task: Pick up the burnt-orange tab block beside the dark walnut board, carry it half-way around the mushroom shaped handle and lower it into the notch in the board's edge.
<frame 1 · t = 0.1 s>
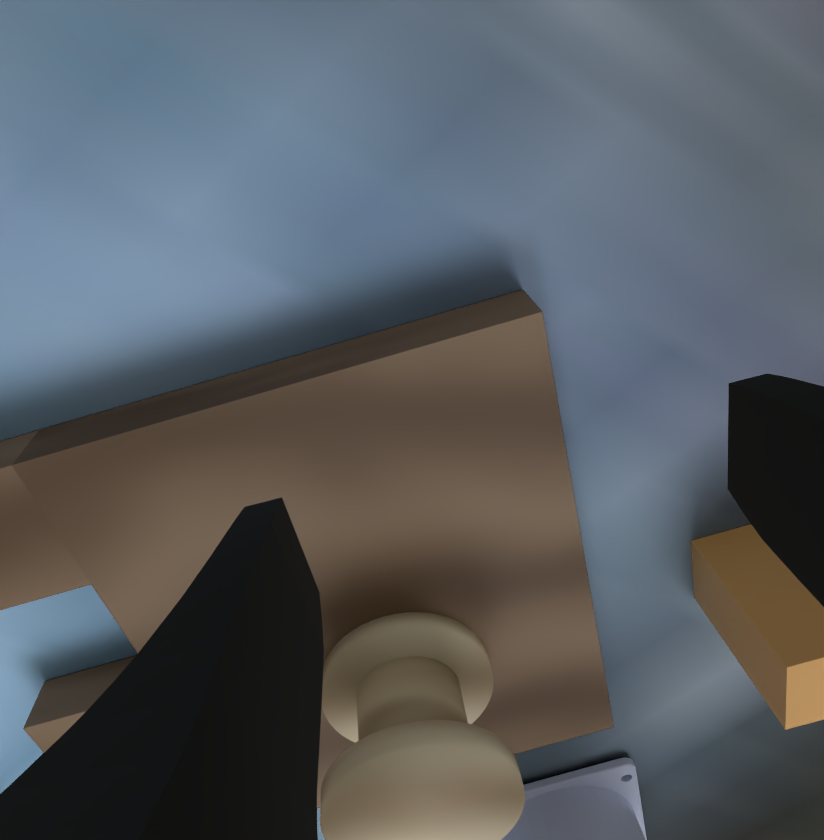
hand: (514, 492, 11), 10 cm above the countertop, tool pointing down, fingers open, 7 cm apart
tab block: (730, 559, 26), on the countertop
notched board: (299, 598, 24), on the countertop
mushroom shaped handle: (400, 633, 26), resting on notched board
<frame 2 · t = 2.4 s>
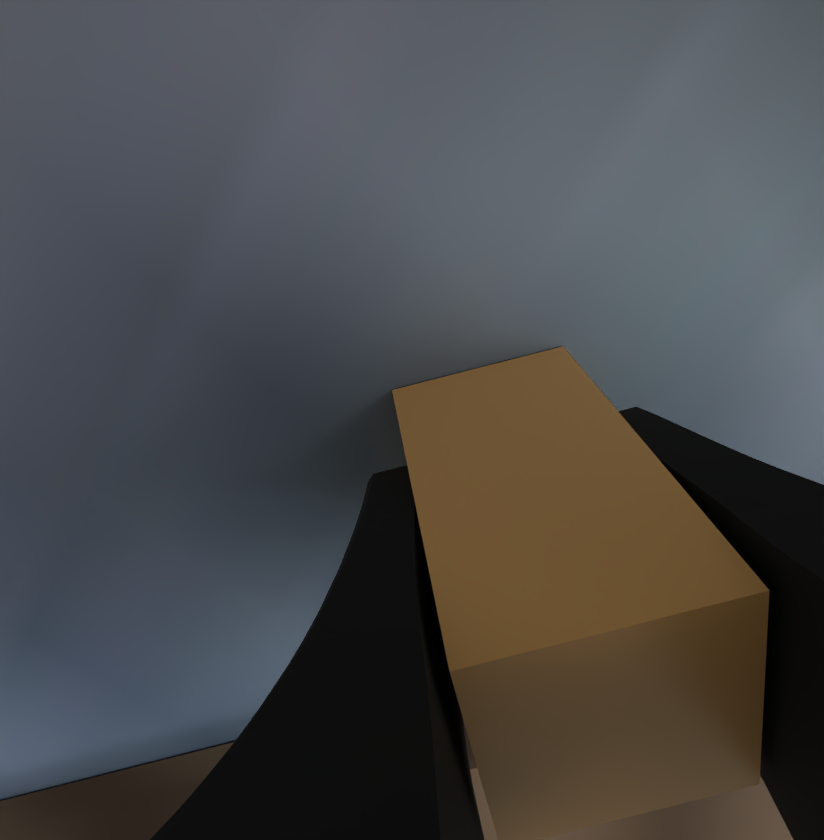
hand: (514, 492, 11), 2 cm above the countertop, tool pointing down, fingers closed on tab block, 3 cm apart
tab block: (491, 441, 12), on the countertop, touching gripper
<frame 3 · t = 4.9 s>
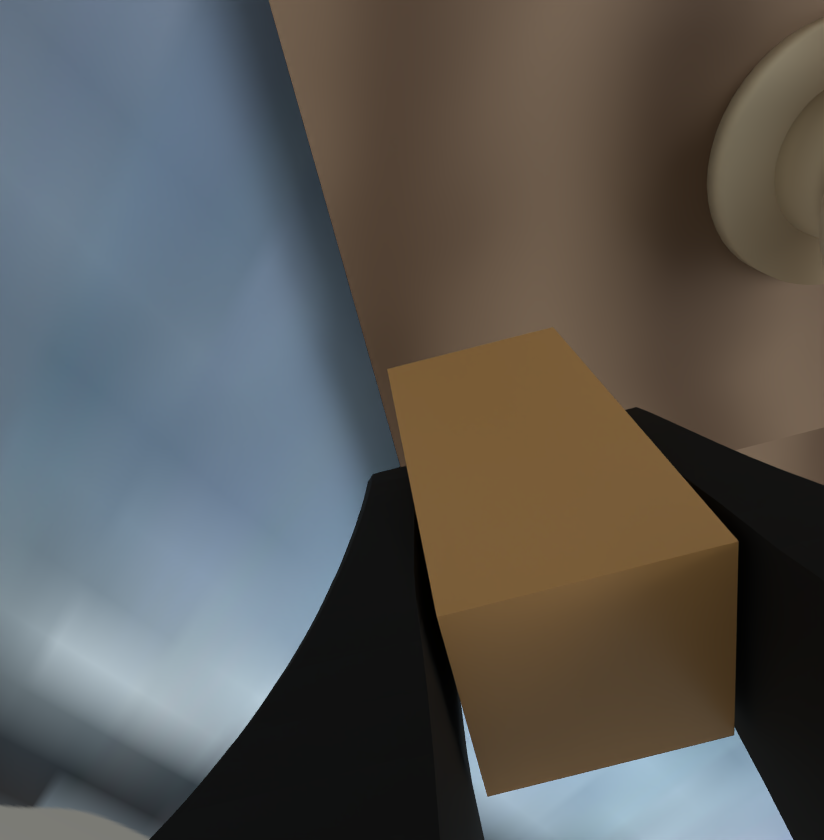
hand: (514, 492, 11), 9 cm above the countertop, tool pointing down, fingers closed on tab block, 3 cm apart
tab block: (484, 420, 12), point 7 cm above the countertop, touching gripper
notched board: (673, 279, 19), on the countertop
mushroom shaped handle: (778, 145, 18), resting on notched board
when the fingers open (3 cm above the countertop, at t = 7.8 s): tab block stays where it is, on the countertop.
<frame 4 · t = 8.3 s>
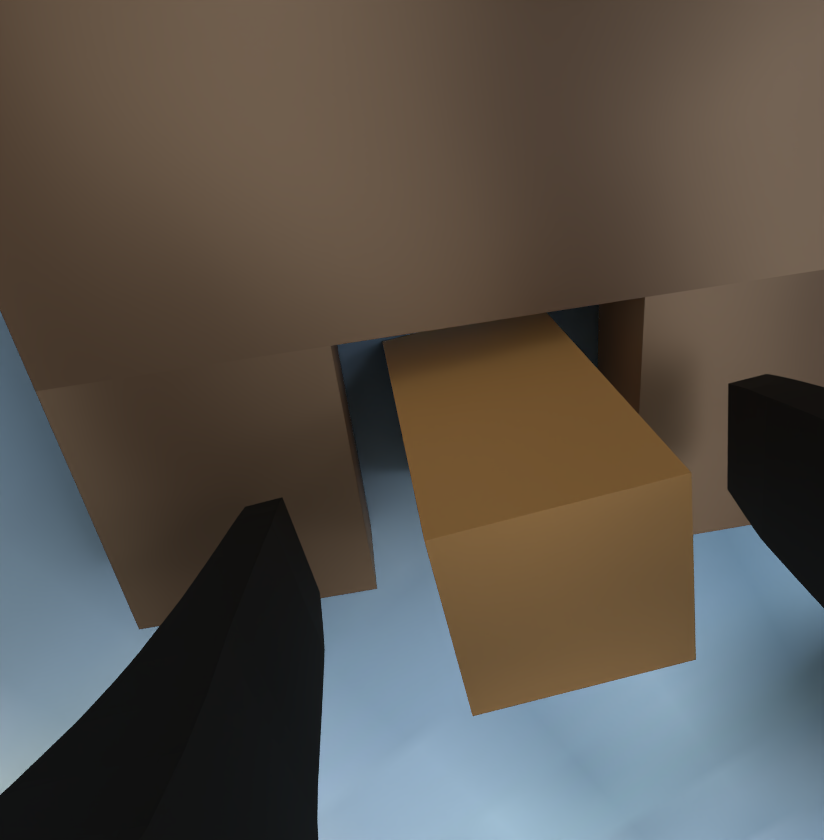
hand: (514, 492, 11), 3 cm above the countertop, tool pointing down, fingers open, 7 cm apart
tab block: (473, 391, 13), on the countertop
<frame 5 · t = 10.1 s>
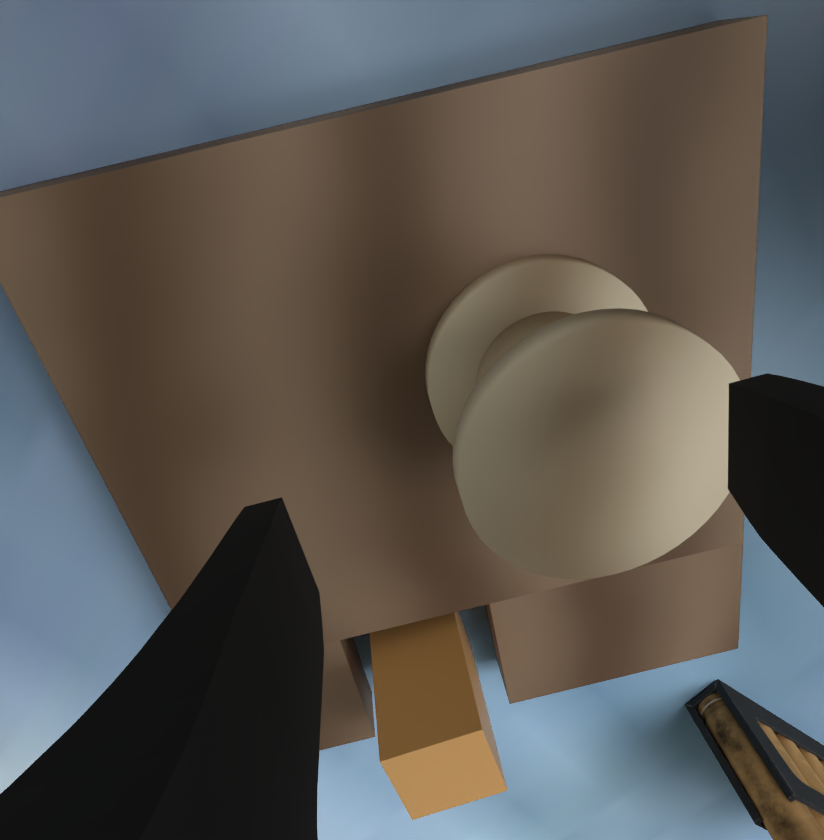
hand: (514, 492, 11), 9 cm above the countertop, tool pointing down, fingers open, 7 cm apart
tab block: (419, 624, 25), on the countertop
notched board: (436, 448, 21), on the countertop
ammunition clip: (768, 730, 30), on the countertop
mushroom shaped handle: (517, 339, 20), resting on notched board
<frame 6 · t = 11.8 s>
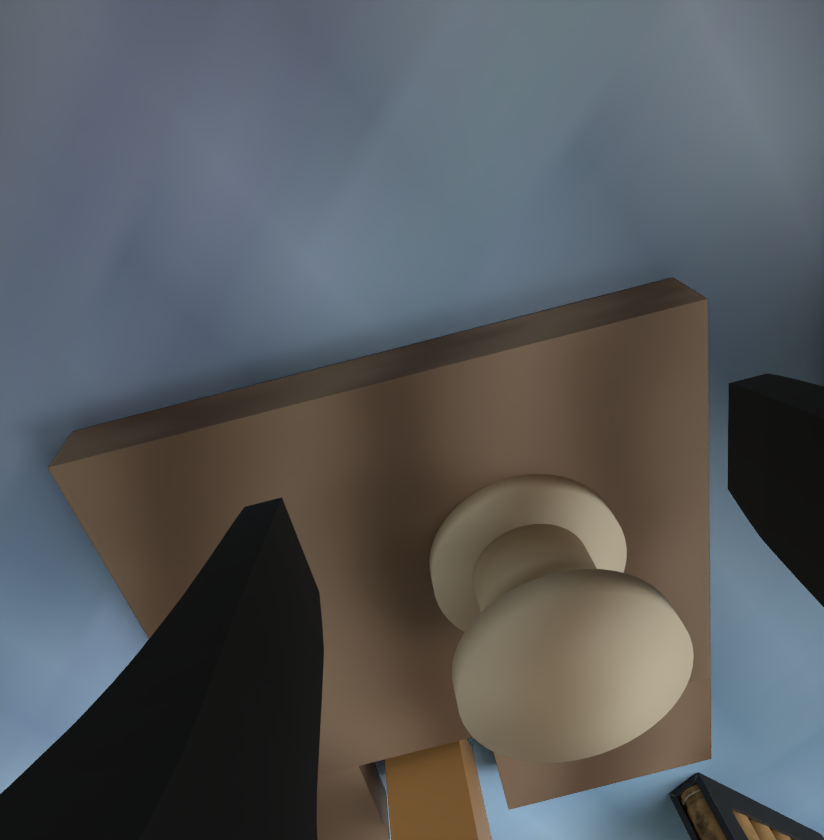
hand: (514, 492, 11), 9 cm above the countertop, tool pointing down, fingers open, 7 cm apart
tab block: (428, 737, 28), on the countertop
notched board: (440, 602, 24), on the countertop
ammunition clip: (747, 811, 33), on the countertop
mushroom shaped handle: (508, 517, 23), resting on notched board
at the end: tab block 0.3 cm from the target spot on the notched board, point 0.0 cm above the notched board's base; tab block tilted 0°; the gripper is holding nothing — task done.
